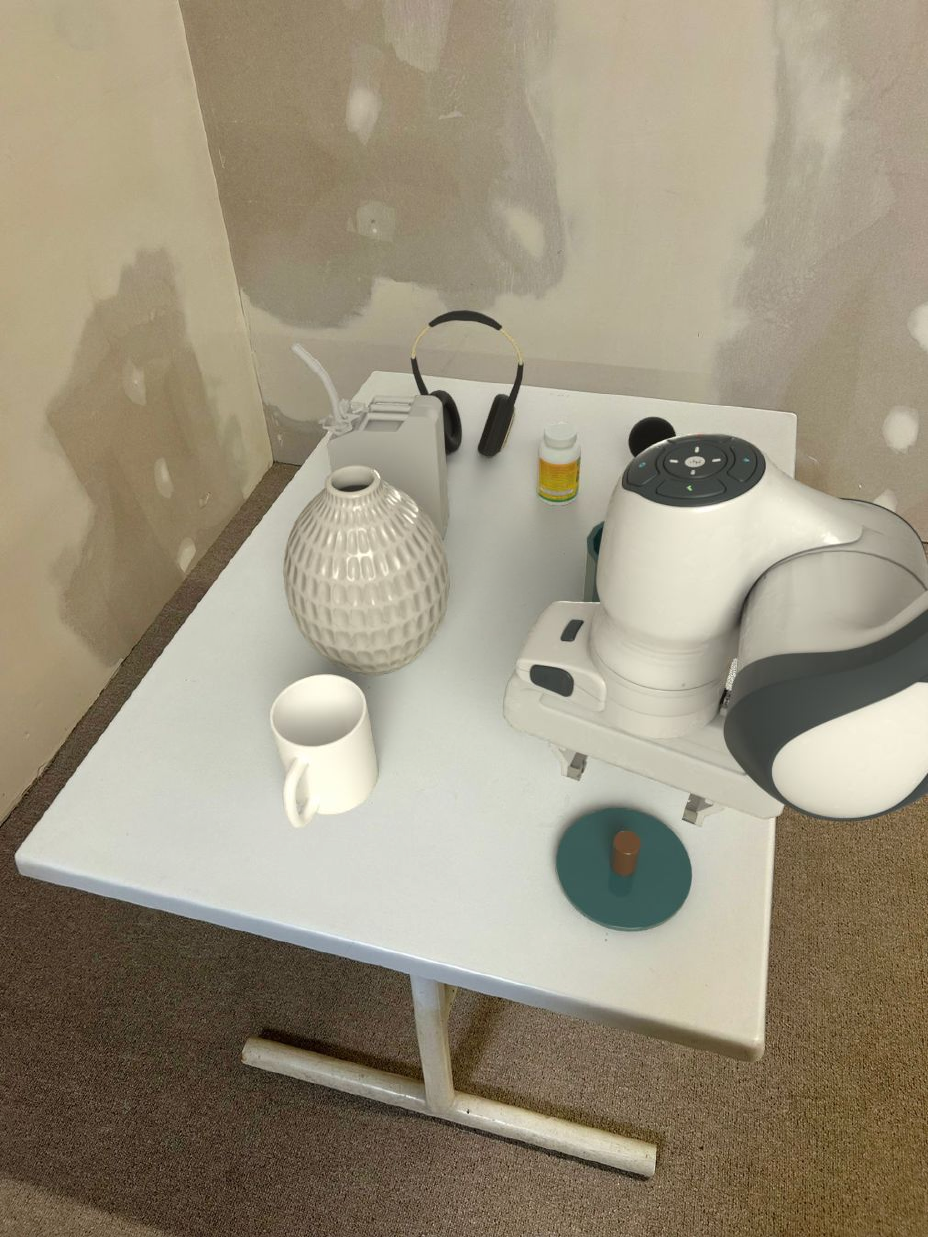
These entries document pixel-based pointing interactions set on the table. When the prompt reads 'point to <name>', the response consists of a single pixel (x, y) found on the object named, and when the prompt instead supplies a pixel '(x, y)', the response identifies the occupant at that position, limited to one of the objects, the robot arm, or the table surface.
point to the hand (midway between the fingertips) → (632, 793)
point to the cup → (323, 746)
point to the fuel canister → (391, 442)
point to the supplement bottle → (558, 465)
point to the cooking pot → (592, 564)
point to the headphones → (501, 406)
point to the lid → (623, 869)
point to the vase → (366, 573)
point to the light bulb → (649, 434)
